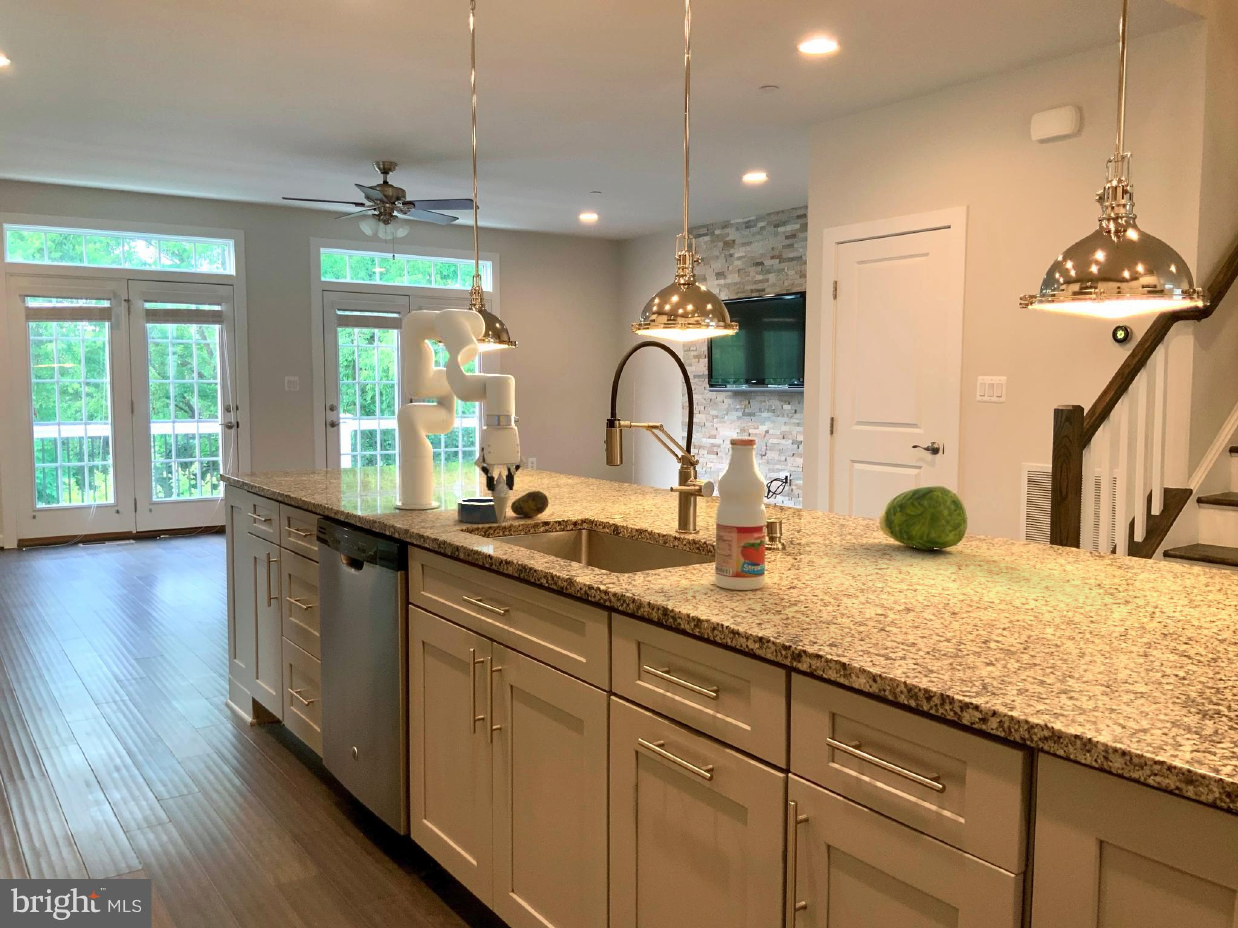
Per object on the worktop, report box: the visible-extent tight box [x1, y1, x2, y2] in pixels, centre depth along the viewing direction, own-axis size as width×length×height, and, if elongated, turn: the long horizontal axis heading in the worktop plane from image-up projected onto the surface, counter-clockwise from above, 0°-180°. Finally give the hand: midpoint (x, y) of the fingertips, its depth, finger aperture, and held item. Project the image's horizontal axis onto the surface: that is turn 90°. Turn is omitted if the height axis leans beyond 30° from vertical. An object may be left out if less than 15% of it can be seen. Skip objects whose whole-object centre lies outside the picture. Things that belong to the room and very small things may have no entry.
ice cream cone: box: [490, 469, 511, 527], centre depth 247 cm, size 5×5×15 cm
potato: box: [510, 490, 550, 518], centre depth 263 cm, size 8×13×8 cm, turn 27°
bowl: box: [456, 497, 507, 524], centre depth 257 cm, size 13×13×6 cm
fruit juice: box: [714, 438, 767, 591], centre depth 176 cm, size 9×9×28 cm
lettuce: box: [878, 485, 968, 552], centre depth 220 cm, size 16×21×15 cm
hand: (500, 489), depth 246 cm, fingers closed on ice cream cone, 4 cm apart
